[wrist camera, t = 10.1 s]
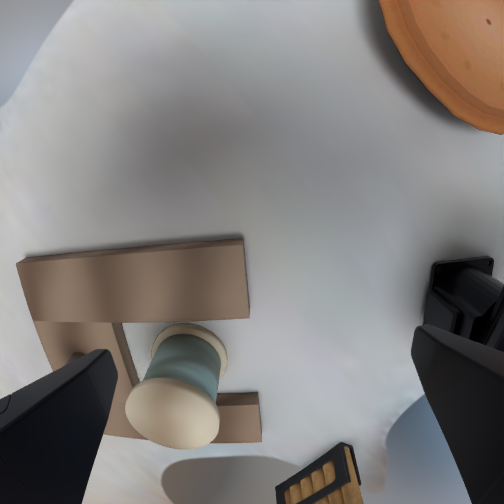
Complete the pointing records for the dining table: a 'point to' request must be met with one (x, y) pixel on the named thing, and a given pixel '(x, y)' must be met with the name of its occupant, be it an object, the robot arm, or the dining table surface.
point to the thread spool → (180, 389)
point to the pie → (454, 53)
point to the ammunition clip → (324, 480)
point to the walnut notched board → (139, 311)
